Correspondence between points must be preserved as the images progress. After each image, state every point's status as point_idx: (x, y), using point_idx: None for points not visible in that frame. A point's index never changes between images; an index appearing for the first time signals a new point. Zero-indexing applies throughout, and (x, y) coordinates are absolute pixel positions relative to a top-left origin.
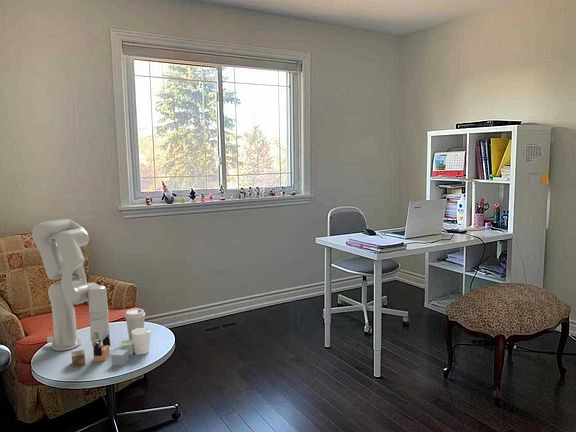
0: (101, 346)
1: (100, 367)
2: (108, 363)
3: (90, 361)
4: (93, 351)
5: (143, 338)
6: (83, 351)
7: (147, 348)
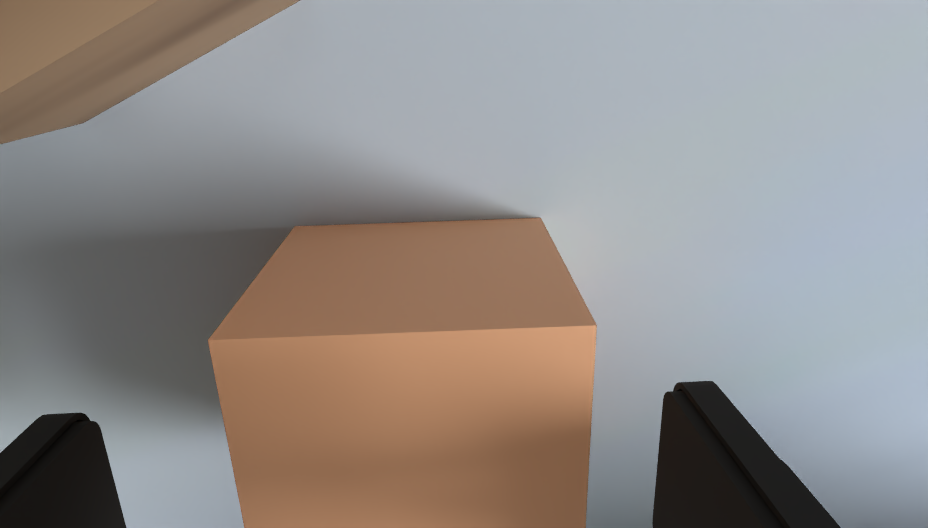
0: (509, 465)
1: None
2: (219, 519)
3: (257, 165)
4: (223, 329)
5: None
6: (46, 27)
7: None
